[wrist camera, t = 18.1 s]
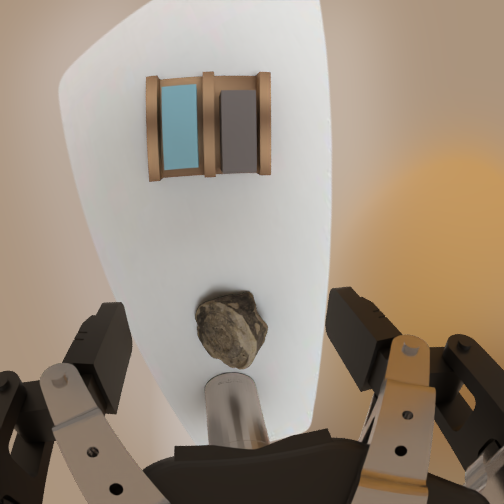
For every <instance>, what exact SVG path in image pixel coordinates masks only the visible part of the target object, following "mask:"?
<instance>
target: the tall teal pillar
mask: <svg viewBox="0 0 504 504" xmlns="http://www.w3.org/2000/svg"><path fill="white" fill-rule="evenodd" d="M162 133H163V154H164V170H171V169H183V168H196V167H199V152H198V121H197V86H196V84H189V85H177V86H166V87H162Z"/></svg>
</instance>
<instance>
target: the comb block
mask: <svg viewBox="0 0 504 504" xmlns="http://www.w3.org/2000/svg"><path fill="white" fill-rule="evenodd" d="M189 84H196V86H197V121H198V152H199V167H196V168H183V169H171V170H164V154H163V133H162V87H166V86H177V85H189ZM221 90H256V133H257V172H254V173H258V174H259V175H271V73H270V72H259V73H258V74H257V75H256V76H214V72H203V77H186V78H173V79H163V80H160V79H159V78H158V76H149V77H146V125H147V151H148V168H149V182H152V181H160V180H161V179H162V178H165V177H178V176H192V175H205V177H216V174H223V173H222V171H221V161H220V117H219V95H220V92H221Z"/></svg>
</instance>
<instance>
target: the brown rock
mask: <svg viewBox="0 0 504 504" xmlns="http://www.w3.org/2000/svg"><path fill="white" fill-rule="evenodd" d="M195 319H196V322H197V324H198V327H197V331H198V337H199V340H200V341H201V343H202V345H203V346H204V348H205V349H206V350H207V352H208V353H209V354H210V356H211V357H213V358H216V359H220V360H221V361H222V362H223V363H225V364H227V365H228V366H229V367H232V368H235V367H236V368H238V369H245V368H247V367H249V366H250V365H251V364H252V362H253V360H254V358H255V356H256V354H257V353H258V351H259V349H260V348H261V346H262V345H263V343H264V341H265V337H266V334H267V330H268V326H267V324H266V323H265V322H264V321H263V320H262V318H261V317H260V316H259V315H258V313H257V310H256V304H255V301H254V297H253V295H252V294H251V293H250V292H246V293H242V294H239V295H233V294H232V295H227V296H223V297H220V298H216V299H213V300H211V301H207V302H205V303H203V304H202V305H200V306H199V308H198V310H197V312H196V315H195Z"/></svg>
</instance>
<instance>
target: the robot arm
mask: <svg viewBox="0 0 504 504" xmlns="http://www.w3.org/2000/svg"><path fill="white" fill-rule="evenodd" d="M325 326H326V332H327V335H328V337H329V339H330V341H331V342H332V344H333V345H334V347H335V349H336V351H337V352H338V354H339V356H340V357H341V359H342V361H343V362H344V364H345V366H346V368H347V369H348V371H349V372H350V374H351V376H352V378H353V379H354V381H355V383H356V384H357V386H358V388H359V390H360V391H361V392H362V391H366V390H369V389H373V391H374V394H373V397H372V400H371V404H370V407H369V411H368V414H367V417H366V420H365V424H364V426H363V430H362V433H361V436H360V438H359V440H358V441H355V440H351V439H345V438H331V436H330V433H329V431H328V429H322V430H318V431H313V432H309V433H303V434H298V435H293V436H290V437H287V438H285V439H282V440H280V441H277V442H275V443H272V444H270V441H269V437H268V433H267V429H266V426H265V422H264V418H263V414H262V410H261V406H260V401H259V397H258V393H257V389H256V385H255V382H254V381H253V380H252V379H251V378H250V377H248V376H246V375H244V374H240V373H226V374H222V375H218V376H216V377H214V378H213V379H211V380H210V381H209V382H208V383H207V385H206V387H205V400H206V415H207V427H208V439H209V445H202V446H175V450H174V452H175V453H174V456H173V457H169V458H166V459H163V460H160V461H158V462H155V463H153V464H151V465H149V466H148V467H146V468H145V469H143V470H142V469H141V468H140V467H139V466H138V464H137V463H136V462H135V460H134V459H133V458H132V456H131V455H130V454H129V452H128V451H127V450H126V448H125V447H124V446H123V444H122V443H121V441H120V440H119V438H118V437H117V435H116V434H115V433H114V431H113V429H112V428H111V426H110V425H109V423H108V422H107V420H106V418H105V413H107V414H117V409H118V405H119V400H120V396H121V392H122V387H123V383H124V379H125V375H126V371H127V367H128V364H129V359H130V356H131V352H132V337H131V332H130V329H129V325H128V321H127V317H126V313H125V309H124V305H123V304H122V303H121V302H112V303H110V302H109V303H102V305H101V307H100V309H99V310H98V312H97V314H96V315H92V316H90V317H89V318H88V319H87V320H86V321H85V322H83V324H82V325H81V327H80V329H79V331H78V333H77V335H76V337H75V340H74V341H73V342H72V344H71V346H70V348H69V350H68V352H67V354H66V356H65V358H64V360H63V362H62V363H58V364H55V365H52V366H51V367H49V368H47V369H46V370H45V371H44V372H43V374H42V376H41V377H40V380H38V381H31V382H24V383H22V382H21V380H20V378H19V376H18V375H17V374H16V373H15V372H13V371H3V372H0V504H42V501H43V494H44V488H45V482H46V476H47V472H48V466H49V462H50V457H51V453H52V448H53V444H54V441H57V444H58V446H59V448H60V450H61V453H62V455H63V457H64V459H65V461H66V463H67V465H68V467H69V469H70V471H71V473H72V475H73V477H74V479H75V481H76V483H77V485H78V487H79V488H80V490H81V492H82V494H83V495H84V497H85V499H86V501H87V502H88V504H504V370H503V369H502V368H501V367H500V366H499V365H498V364H497V363H496V362H495V361H494V360H493V359H492V358H491V356H489V354H487V352H486V351H485V350H484V349H483V348H482V347H481V346H480V345H479V344H478V343H477V342H476V341H475V340H474V339H472V338H470V337H468V336H466V335H462V334H455V335H452V336H450V337H449V338H448V341H447V343H446V346H445V347H429V346H428V344H427V343H426V342H425V341H424V340H422V339H420V338H419V337H416V336H413V335H402V334H401V333H400V332H399V330H398V329H397V328H396V327H395V326H394V325H393V324H392V323H391V322H390V321H389V319H388V318H387V317H385V315H384V314H383V313H382V312H381V311H379V309H378V308H377V307H376V306H375V305H374V303H372V302H371V301H369V300H367V299H365V298H363V297H359V295H358V294H357V293H356V292H355V291H354V290H353V289H352V288H351V287H342V288H332V289H331V291H330V294H329V301H328V308H327V315H326V322H325ZM463 384H465V385H466V387H467V388H468V389H469V391H470V392H471V393H472V394H473V396H474V397H475V401H476V405H475V409H474V411H472V409H471V408H470V406H469V405H468V404H467V402H466V401H465V400H464V398H463V397H462V396H461V395H460V393H459V390H460V389H461V387H462V385H463ZM434 420H435V422H436V423H437V425H438V426H439V428H440V430H441V431H442V433H443V434H444V436H445V438H446V439H447V441H448V443H449V444H450V446H451V447H452V449H453V451H454V453H455V454H456V456H457V458H458V460H459V461H460V463H461V465H462V467H463V468H464V470H465V472H466V473H465V483H464V484H463V486H462V485H459V484H456V483H454V482H451V481H448V480H446V479H443V478H441V477H438V476H435V475H433V474H431V473H428V466H429V460H430V453H431V445H432V437H433V427H434ZM13 429H15V430H16V431H17V436H16V439H15V442H14V445H13V448H12V452H11V455H10V453H9V448H8V446H9V441H10V438H11V435H12V432H13Z"/></svg>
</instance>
